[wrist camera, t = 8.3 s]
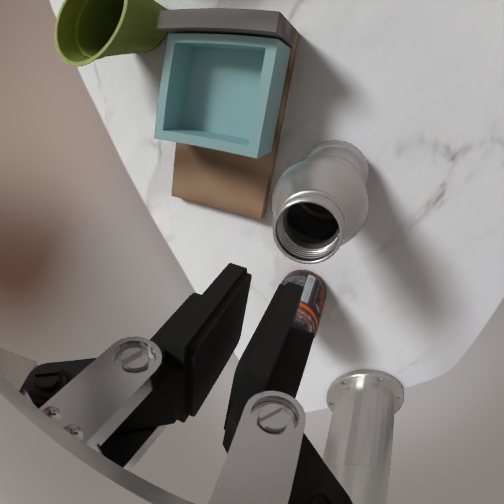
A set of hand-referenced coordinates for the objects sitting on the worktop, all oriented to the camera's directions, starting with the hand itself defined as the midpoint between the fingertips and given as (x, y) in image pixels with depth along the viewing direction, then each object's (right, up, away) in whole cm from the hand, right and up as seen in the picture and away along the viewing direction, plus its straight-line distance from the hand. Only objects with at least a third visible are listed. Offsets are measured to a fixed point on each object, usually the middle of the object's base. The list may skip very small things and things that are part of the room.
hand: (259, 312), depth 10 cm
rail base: (-3, +18, +24) cm, 30 cm away
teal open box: (-3, +19, +22) cm, 29 cm away
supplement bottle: (+7, -3, +31) cm, 32 cm away
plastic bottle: (+9, +11, +23) cm, 27 cm away
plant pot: (-14, +31, +22) cm, 41 cm away
